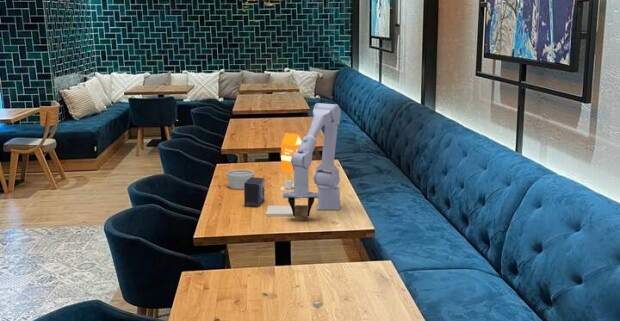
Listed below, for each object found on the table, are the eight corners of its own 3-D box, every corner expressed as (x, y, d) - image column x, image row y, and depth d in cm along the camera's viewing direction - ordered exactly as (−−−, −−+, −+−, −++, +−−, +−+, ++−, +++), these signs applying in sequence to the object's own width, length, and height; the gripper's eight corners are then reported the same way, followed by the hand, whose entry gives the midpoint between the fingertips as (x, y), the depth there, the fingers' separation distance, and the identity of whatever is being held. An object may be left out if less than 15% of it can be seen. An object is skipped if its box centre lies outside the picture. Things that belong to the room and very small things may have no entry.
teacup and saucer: (295, 186, 285) (295, 178, 284) (300, 190, 278) (300, 182, 277) (278, 188, 283) (278, 179, 282) (282, 192, 275) (282, 183, 274)
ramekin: (257, 183, 289) (257, 169, 288) (250, 190, 276) (250, 176, 275) (231, 182, 291) (231, 168, 290) (223, 189, 279) (222, 175, 277)
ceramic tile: (294, 208, 249) (294, 205, 249) (293, 216, 239) (293, 213, 239) (268, 208, 250) (268, 205, 250) (265, 216, 239) (265, 213, 239)
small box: (258, 207, 251) (258, 183, 248) (243, 206, 252) (243, 182, 250) (265, 200, 261) (265, 177, 258) (251, 199, 262) (250, 176, 260)
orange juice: (295, 173, 310) (294, 135, 306) (281, 170, 315) (280, 133, 310) (303, 170, 316) (303, 133, 312) (289, 168, 321) (289, 131, 317)
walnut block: (307, 217, 238) (307, 205, 237) (307, 221, 233) (307, 209, 232) (295, 217, 238) (295, 205, 237) (294, 221, 233) (294, 208, 232)
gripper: (282, 185, 228) (282, 218, 231) (319, 185, 228) (319, 218, 231) (283, 180, 235) (283, 213, 238) (319, 180, 235) (319, 213, 238)
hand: (301, 215), depth 235 cm, fingers closed on walnut block, 5 cm apart
